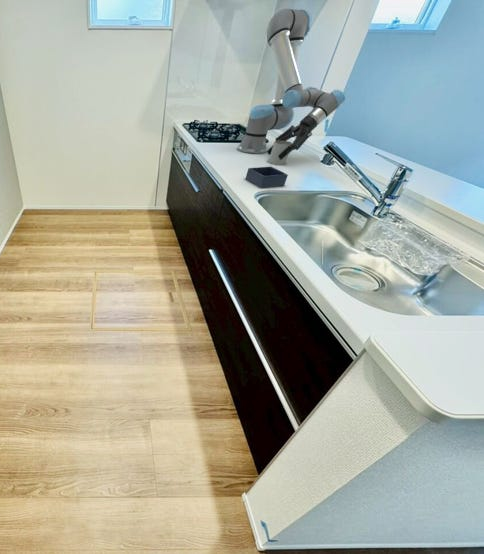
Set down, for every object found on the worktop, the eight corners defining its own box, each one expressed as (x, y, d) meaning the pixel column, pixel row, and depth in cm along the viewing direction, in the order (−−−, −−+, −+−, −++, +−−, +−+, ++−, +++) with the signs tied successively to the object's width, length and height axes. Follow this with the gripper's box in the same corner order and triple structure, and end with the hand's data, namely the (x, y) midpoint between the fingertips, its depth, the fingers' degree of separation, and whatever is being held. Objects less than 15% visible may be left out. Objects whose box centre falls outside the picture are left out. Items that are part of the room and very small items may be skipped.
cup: (287, 165, 154) (294, 144, 148) (270, 164, 156) (276, 144, 150) (283, 160, 161) (289, 140, 155) (267, 159, 162) (272, 140, 156)
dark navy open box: (245, 179, 137) (248, 168, 134) (267, 177, 139) (271, 166, 136) (260, 188, 128) (263, 176, 125) (284, 185, 130) (288, 174, 127)
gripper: (331, 130, 142) (290, 166, 149) (299, 122, 159) (264, 155, 166) (326, 118, 138) (284, 156, 145) (294, 111, 155) (258, 145, 162)
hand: (273, 155), depth 155 cm, fingers open, 9 cm apart
